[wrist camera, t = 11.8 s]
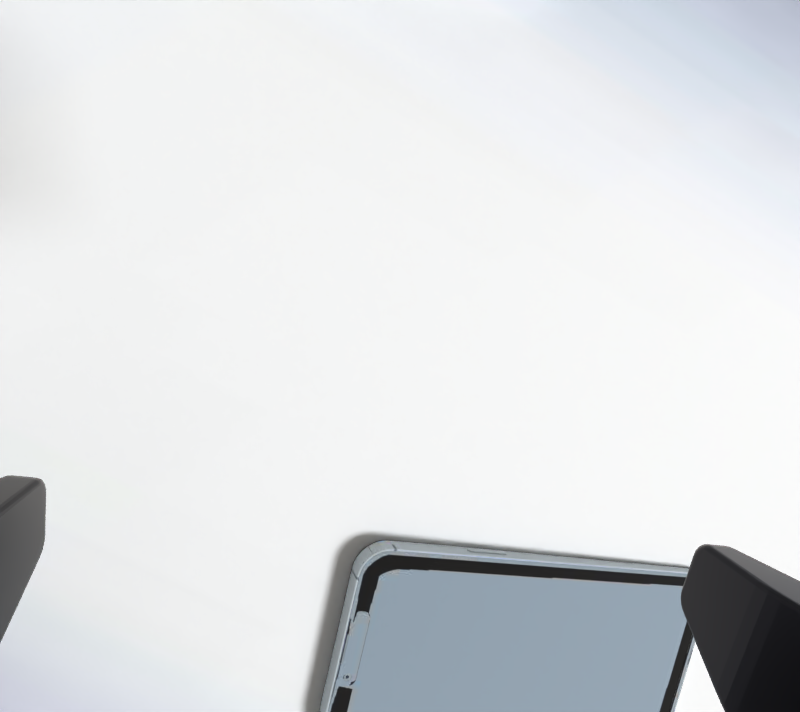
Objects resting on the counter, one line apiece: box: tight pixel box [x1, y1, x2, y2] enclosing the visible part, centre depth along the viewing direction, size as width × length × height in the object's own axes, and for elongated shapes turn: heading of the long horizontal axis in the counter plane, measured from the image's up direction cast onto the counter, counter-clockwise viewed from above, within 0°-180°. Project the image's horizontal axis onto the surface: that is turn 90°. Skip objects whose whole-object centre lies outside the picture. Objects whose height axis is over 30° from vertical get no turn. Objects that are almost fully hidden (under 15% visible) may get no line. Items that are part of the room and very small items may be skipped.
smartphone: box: [319, 540, 695, 712], centre depth 25 cm, size 7×1×15 cm
